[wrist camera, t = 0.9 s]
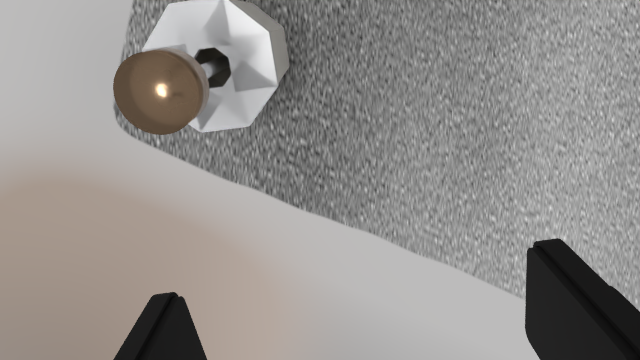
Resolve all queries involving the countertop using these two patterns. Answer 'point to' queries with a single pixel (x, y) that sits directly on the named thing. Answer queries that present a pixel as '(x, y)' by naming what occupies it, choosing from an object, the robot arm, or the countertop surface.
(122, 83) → the plunger
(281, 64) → the press pot
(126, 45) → the countertop surface
